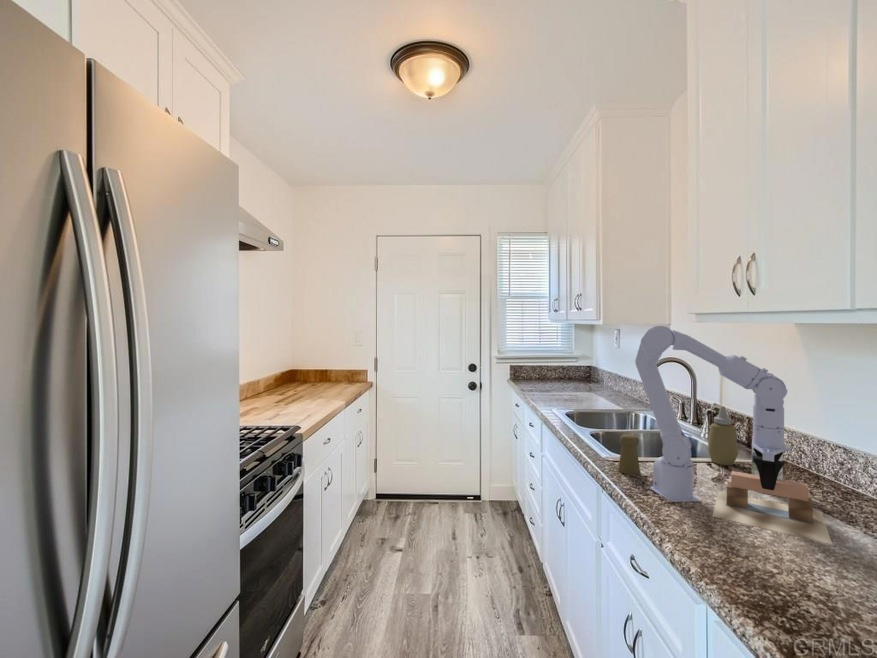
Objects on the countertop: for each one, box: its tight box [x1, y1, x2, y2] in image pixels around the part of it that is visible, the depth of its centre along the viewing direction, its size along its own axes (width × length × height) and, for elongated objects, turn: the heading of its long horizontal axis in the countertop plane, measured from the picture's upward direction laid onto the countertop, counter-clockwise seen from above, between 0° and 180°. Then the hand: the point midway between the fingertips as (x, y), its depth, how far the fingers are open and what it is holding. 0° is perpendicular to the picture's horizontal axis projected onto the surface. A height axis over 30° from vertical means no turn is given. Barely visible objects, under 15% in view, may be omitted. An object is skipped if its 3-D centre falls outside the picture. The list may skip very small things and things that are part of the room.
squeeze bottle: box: [707, 405, 739, 466], centre depth 134 cm, size 8×8×18 cm
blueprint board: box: [712, 481, 833, 545], centre depth 97 cm, size 20×18×5 cm
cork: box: [617, 433, 641, 476], centre depth 127 cm, size 6×6×11 cm
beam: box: [730, 470, 809, 501], centre depth 99 cm, size 14×3×3 cm, turn 53°
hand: (767, 484), depth 99 cm, fingers open, 7 cm apart
